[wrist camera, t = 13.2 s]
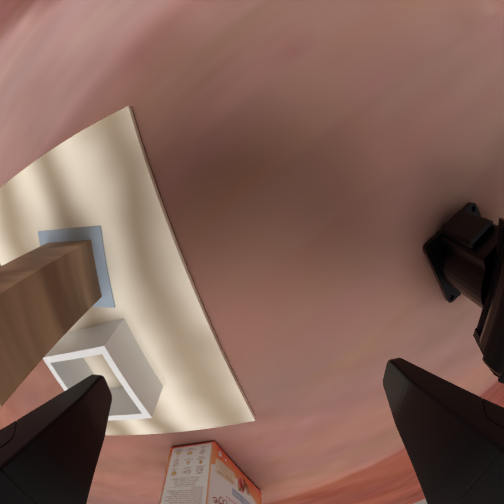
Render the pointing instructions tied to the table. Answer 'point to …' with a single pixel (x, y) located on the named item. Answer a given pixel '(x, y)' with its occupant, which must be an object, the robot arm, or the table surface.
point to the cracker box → (205, 478)
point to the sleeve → (120, 361)
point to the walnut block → (42, 305)
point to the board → (127, 269)
